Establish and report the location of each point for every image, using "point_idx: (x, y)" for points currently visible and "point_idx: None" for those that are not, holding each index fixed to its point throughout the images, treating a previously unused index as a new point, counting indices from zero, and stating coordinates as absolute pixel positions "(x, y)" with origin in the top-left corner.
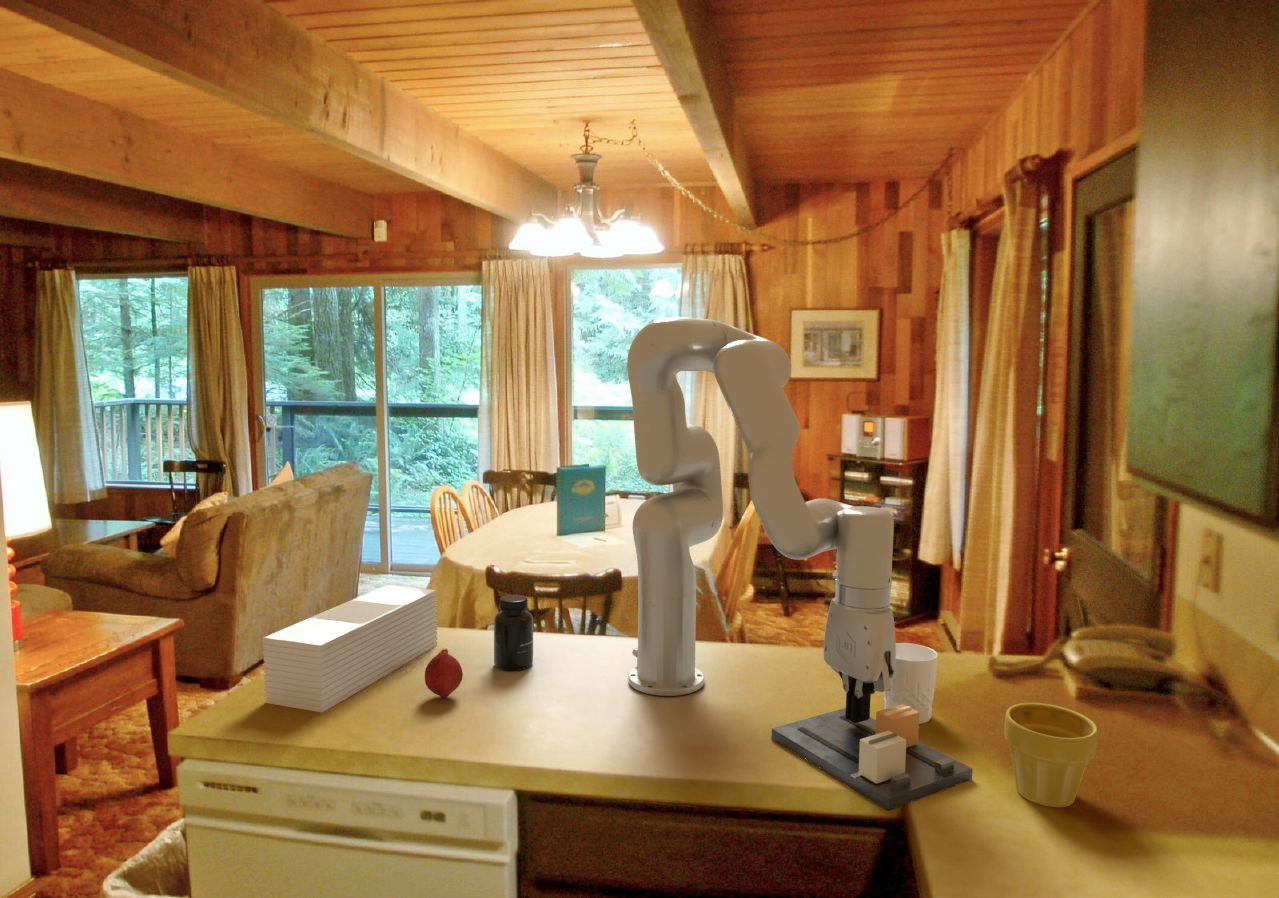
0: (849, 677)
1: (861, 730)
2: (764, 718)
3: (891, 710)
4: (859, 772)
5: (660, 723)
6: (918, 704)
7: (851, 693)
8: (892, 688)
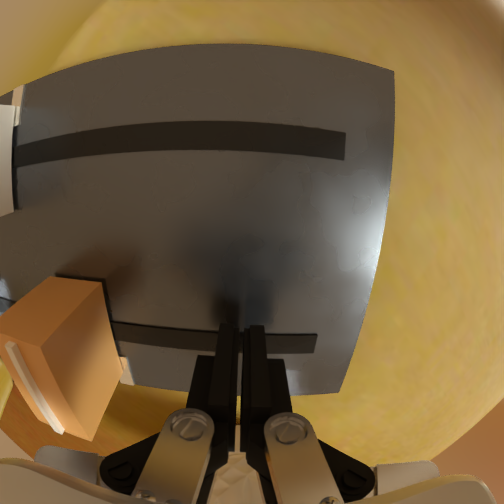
0: (276, 488)
1: (202, 323)
2: (465, 175)
3: (48, 390)
4: (11, 106)
5: (498, 14)
6: None
7: (250, 417)
8: (253, 485)
